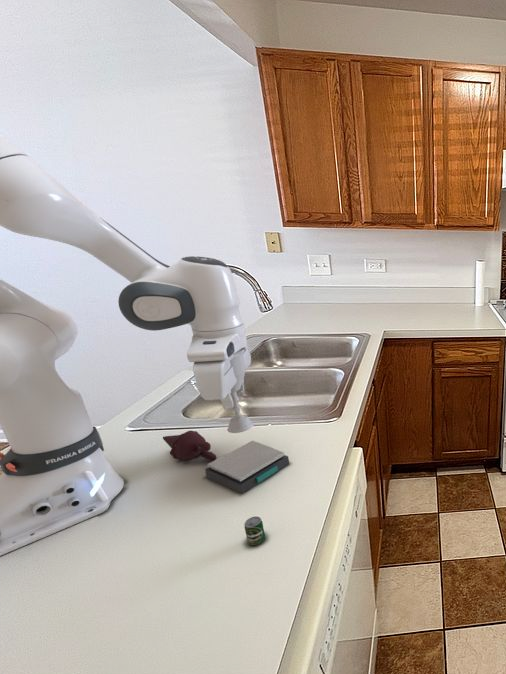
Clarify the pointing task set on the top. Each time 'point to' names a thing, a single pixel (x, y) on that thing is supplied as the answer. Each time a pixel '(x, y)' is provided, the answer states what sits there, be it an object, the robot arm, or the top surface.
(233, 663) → the top surface
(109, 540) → the top surface
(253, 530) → the beer can
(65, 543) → the top surface
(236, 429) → the chalice
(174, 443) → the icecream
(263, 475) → the scale
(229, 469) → the scale pan
